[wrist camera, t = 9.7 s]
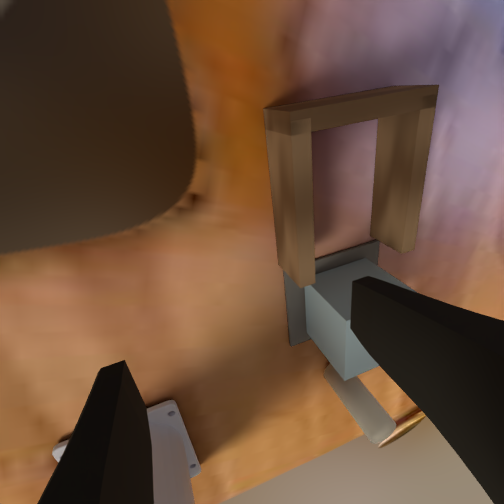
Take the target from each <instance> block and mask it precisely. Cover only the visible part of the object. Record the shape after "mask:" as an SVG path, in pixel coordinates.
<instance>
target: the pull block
mask: <svg viewBox="0 0 504 504" xmlns="http://www.w3.org/2000/svg"><path fill="white" fill-rule="evenodd" d="M366 276H371V277H374V278H377V279H380V280H383V281H386V282H389V283H392V284H394V285H397V286H400V287H403V288H405V289H408V290H411V291H414V290H413V289H411V288H410V287H408V286H407V285H405V284H404V283H402V282H401V281H399V280H398V279H396V278H395V277H393V276H392V275H390V274H389V273H387V272H386V271H384V270H383V269H382V268H380V267H379V266H377V265H376V264H374V263H373V262H371V261H370V260H368V259H367V258H363V259H360V260H357V261H354V262H351V263H348V264H345V265H342V266H339V267H336V268H333V269H330V270H327V271H324V272H321V273H318V274H315V282H316V283H314V284H311V285H309V286H306V287H304V289H305V308H306V328H307V333H308V335H309V336H310V337H311V339H312V340H313V341H314V343H315V344H316V345H317V346H318V348H319V349H320V350H321V352H322V353H323V354H324V355H325V357H326V358H327V359H328V361H329V362H330V364H329V365H328V366H327V367H326V369H325V371H324V377H325V379H326V380H327V381H328V383H329V384H330V386H331V387H332V388H333V390H334V391H335V393H336V394H337V395H338V397H339V398H340V400H341V401H342V402H343V404H344V405H345V407H346V408H347V409H348V411H349V412H350V414H351V415H352V416H353V418H354V419H355V421H356V422H357V423H358V425H359V426H360V428H361V429H362V430H363V432H364V433H365V435H366V436H367V437H368V439H369V440H370V442H371V443H374V444H375V443H379V442H382V441H384V440H385V439H387V438H388V437H389V436H390V435H391V434H392V433H393V431H394V430H395V428H396V423H395V422H394V420H393V419H392V418H391V417H390V416H389V414H388V413H387V412H386V411H385V410H384V408H383V407H382V406H381V405H380V404H379V402H378V401H377V400H376V399H375V398H374V396H373V395H372V394H371V393H370V392H369V390H368V389H367V388H366V387H365V386H364V384H363V383H362V382H361V381H360V380H359V378H358V377H357V375H359V374H362V373H364V372H366V371H368V370H371V369H373V368H375V367H378V366H379V364H378V363H377V362H376V361H375V360H374V359H373V358H372V357H371V356H370V355H369V353H368V352H367V351H366V350H365V348H364V347H363V346H362V344H361V343H360V342H359V340H358V339H357V337H356V336H355V334H354V333H353V332H352V330H351V329H350V320H351V297H352V281H354V280H357V279H360V278H363V277H366ZM414 292H416V291H414ZM416 293H417V292H416Z"/></svg>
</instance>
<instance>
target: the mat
mask: <svg viewBox="0 0 504 504" xmlns="http://www.w3.org/2000/svg"><path fill="white" fill-rule="evenodd" d="M379 242H380V241H378V240H374V241H371V242H368V243H365V244H362V245H359V246H355V247H352V248H349V249H346V250H343V251H340V252H337V253H333V254H330V255H327V256H324V257H321V258H318V259H315V274H318V273H321V272H324V271H327V270H330V269H333V268H336V267H339V266H342V265H345V264H348V263H351V262H354V261H357V260H360V259H363V258H367V259H368V260H370V261H371V262H373V263H374V264H376V265H377V266H378V254H379ZM283 274H284V285H285V296H286V308H287V319H288V330H289V341H290V346H291V347H292V346H294V345H297V344H299V343H302V342H304V341H307V340H310V339H311V337H310V336H309V335H308V333H307V328H306V308H305V289H304V287H303V288H300V287H299V286H298V285H297V284H296V283H295V282H294V281H293V280H292V279H291V278H290V277H289V275H288V274H287V273H286V272H285V271H284V270H283Z"/></svg>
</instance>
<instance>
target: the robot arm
mask: <svg viewBox="0 0 504 504" xmlns="http://www.w3.org/2000/svg"><path fill="white" fill-rule="evenodd" d="M350 329H351V330H352V332H353V333H354V334H355V336H356V337H357V339H358V340H359V342H360V343H361V344H362V346H363V347H364V348H365V350H366V351H367V352H368V353H369V355H370V356H371V357H372V358H373V359H374V360H375V361H376V362H377V363H378V364H379V366H380V367H381V368H382V369H383V370H384V371H385V372H386V373H387V374H388V375H389V376H390V377H391V378H392V379H393V380H394V382H395V383H396V384H397V385H398V386H399V387H400V388H401V389H402V390H403V391H404V392H405V393H406V394H407V395H408V396H409V397H410V398H411V400H412V401H413V402H414V403H415V404H416V405H417V406H418V407H419V408H420V409H421V410H422V411H423V412H424V414H425V415H426V416H427V417H428V418H429V419H430V420H431V421H432V423H433V424H434V425H435V426H436V427H437V429H438V430H439V431H440V433H441V434H442V435H443V436H444V438H445V439H446V440H447V441H448V443H449V444H450V445H451V447H452V448H453V449H454V450H455V451H456V453H457V454H458V455H459V456H460V458H461V459H462V461H463V462H464V463H465V465H466V466H467V467H468V469H469V470H470V471H471V473H472V474H473V475H474V477H475V478H476V479H477V481H478V482H479V483H480V484H481V486H482V487H483V489H484V490H485V492H486V493H487V494H488V496H489V497H490V499H491V500H492V501H493V503H494V504H504V321H503V320H499V319H495V318H492V317H488V316H485V315H482V314H479V313H475V312H472V311H469V310H466V309H463V308H460V307H456V306H453V305H450V304H447V303H445V302H442V301H439V300H436V299H433V298H430V297H427V296H425V295H422V294H419V293H416V292H414V291H411V290H408V289H405V288H403V287H400V286H397V285H394V284H392V283H389V282H386V281H383V280H380V279H377V278H374V277H371V276H366V277H363V278H360V279H357V280H354V281H352V297H351V320H350ZM170 411H171V412H170ZM52 454H53V456H54V458H55V459H56V460H57V461H58V465H57V467H56V469H55V470H54V472H53V474H52V476H51V478H50V480H49V482H48V484H47V486H46V488H45V490H44V492H43V494H42V496H41V498H40V500H39V502H38V504H195V502H194V496H193V491H192V485H191V479H190V478H192V477H194V476H196V475H198V474H199V473H200V472H201V467H200V464H199V461H198V459H197V456H196V453H195V451H194V448H193V446H192V443H191V440H190V438H189V435H188V432H187V430H186V427H185V425H184V422H183V419H182V417H181V414H180V412H179V409H178V406H177V404H176V402H175V401H174V400H168V401H165V402H163V403H160V404H157V405H155V406H152V407H150V408H146V406H145V403H144V401H143V399H142V397H141V395H140V392H139V390H138V388H137V386H136V384H135V382H134V379H133V377H132V375H131V373H130V371H129V368H128V366H127V364H126V362H125V360H123V361H120V362H118V363H115V364H112V365H109V366H106V367H103V368H101V369H100V371H99V372H98V374H97V377H96V379H95V382H94V384H93V387H92V389H91V392H90V394H89V396H88V399H87V401H86V404H85V406H84V408H83V410H82V413H81V415H80V417H79V420H78V422H77V424H76V426H75V429H74V431H73V433H72V435H71V437H70V439H68V440H66V441H63V442H61V443H59V444H57V445H55V446H54V448H53V452H52Z"/></svg>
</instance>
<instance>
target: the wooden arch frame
mask: <svg viewBox="0 0 504 504" xmlns="http://www.w3.org/2000/svg"><path fill="white" fill-rule="evenodd" d="M438 88H439V85H408V86H391V87H385V88H379V89H373V90H368V91H362V92H356V93H350V94H345V95H339V96H333V97H328V98H322V99H316V100H310V101H305V102H299V103H293V104H287V105H282V106H276V107H270V108H264V109H263V110H264V120H265V131H266V141H267V152H268V162H269V172H270V183H271V193H272V203H273V214H274V224H275V234H276V245H277V255H278V265H279V266H280V267H281V268H282V269H283V270H284V271H285V272H286V273H287V274H288V275H289V277H290V278H291V279H292V280H293V281H294V282H295V283H296V284H297V285H298V286H299V287H300V288H303V287H306V286H309V285H311V284H314V283H316V282H315V247H314V213H313V179H312V144H311V132H314V131H319V130H324V129H329V128H334V127H339V126H344V125H348V124H353V123H358V122H363V121H368V120H373V119H378V130H377V144H376V158H375V173H374V187H373V202H372V216H371V231H370V236H371V237H373V238H375V239H377V240H378V241H380V242H382V243H384V244H385V245H387V246H389V247H391V248H392V249H394V250H396V251H397V252H399V253H401V254H403V253H406V252H409V251H412V250H414V248H415V241H416V234H417V228H418V221H419V214H420V208H421V201H422V194H423V188H424V181H425V175H426V168H427V161H428V155H429V148H430V141H431V135H432V128H433V121H434V115H435V108H436V101H437V95H438Z"/></svg>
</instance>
